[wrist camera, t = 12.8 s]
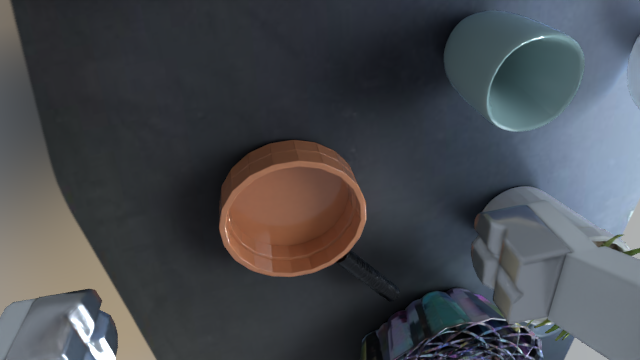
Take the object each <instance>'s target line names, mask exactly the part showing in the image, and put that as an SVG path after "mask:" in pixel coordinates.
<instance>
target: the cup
mask: <svg viewBox="0 0 640 360" xmlns="http://www.w3.org/2000/svg"><path fill="white" fill-rule="evenodd" d="M443 58H444V68H445V72H446V75H447V77H448V79H449V81H450V83H451V85H452V86H453V88H454V89H455V90H456V91H457V93H458V94H459V95H460V96H461V97H462V98H463V99H464V100H465V101H466V102H467V103H468V104H469V105H470V106H471V107H472V108H474V109H475V110H476V111H477V112H478V113H479V114H480V115H481V116H482V117H483V118H485V119H486V120H487V121H488V122H489V123H491V124H492V125H494V126H496V127H498V128H500V129H502V130H506V131H511V132H522V131H529V130H533V129H537V128H539V127H541V126H544V125H546V124H548V123H549V122H551V121H552V120H554V119H555V118H557V117H558V116H559V115H560V114H561V113H562V112H563V111H564V110H565V109H566V107H567V106H568V105H569V104H570V102H571V101H572V99H573V98H574V96H575V94H576V92H577V90H578V88H579V86H580V83H581V80H582V77H583V73H584V67H585V66H584V54H583V51H582V48H581V47H580V45H579V44H578V42H577V41H576V40H574V39H573V38H572V37H570V36H569V35H567V34H566V33H564V32H562V31H559V30H557V29H555V28H553V27H550V26H548V25H546V24H543V23H541V22H539V21H536V20H533V19H531V18H528V17H525V16H522V15H519V14H516V13H512V12H507V11H499V10H489V11H482V12H478V13H474V14H472V15H470V16H468V17H466V18H465V19H463V20H462V21H460V22H459V23H458V24H457V25H456V27H455V28H454V29H453V31H452V32H451V34H450V36H449V38H448V40H447V43H446V46H445V50H444V57H443Z"/></svg>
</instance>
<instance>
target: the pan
mask: <svg viewBox="0 0 640 360" xmlns="http://www.w3.org/2000/svg"><path fill="white" fill-rule="evenodd" d="M365 222H366V201H365V199H364V197H363V194H362V192H361V190H360V188H359V186H358V183H357V181H356V179H355V177H354V175H353V172H352V170H351V168H350V166H349V164H348V163H347V162H346V161H345V160H344V159H343V158H342V157H341V156H340V155H339V154H337V153H336V152H335V151H333V150H331V149H329V148H327V147H325V146H322V145H320V144H318V143H315V142H308V141H300V140H288V141H282V142H276V143H270V144H267V145H265V146H263V147H261V148H259V149H256V150H254V151H252V152H250V153H248V154H247V155H246V156H245V157H244V158H243V159H241V160H240V161H239V162H238V163H237V164H236V165H235V166H234V167H232V169H231V170H230V172H229V174H228V176H227V177H226V179H225V181H224V183H223V185H222V187H221V194H220V202H219V231H220V234H221V238H222V241H223V245H224V247H225V248H226V249H227V251H228V252H229V253H230V254H231V256H232V257H233V258H234V259H235V260H236V261H237V262H239V263H240V264H242V265H243V266H245V267H246V268H248V269H250V270H251V271H254V272H258V273H261V274H265V275H268V276H278V277H294V276H300V275H305V274H310V273H314V272H316V271H319V270H321V269H323V268H326V267H328V266H330V265H332V264H334V263H335V262H336V261H338V260H339V259H340V258H342V257H343V256H344V255H346V254H347V253H348V252H349V251H350V250H351V248H352V247H353V246H354V244H355V243H356V242H357V240H358V239H359V238H360V236H361V233H362V231H363V228H364V225H365Z"/></svg>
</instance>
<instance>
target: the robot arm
mask: <svg viewBox="0 0 640 360" xmlns="http://www.w3.org/2000/svg"><path fill="white" fill-rule="evenodd" d="M474 229H475V230H476V232H477V233H478V234H479V235H478V236H477V238H476V239H475V240H474V241H473V242H472V248H471V257H472V262H473V267H474V269H475V272H476V274H477V276H478V278H479V279H480V281H481V282H482V284H483V285H485V286H487V287H489V288H491V289H493V290H494V294H493V301H494V303H495V304H496V306H497V307H498V309H499V310H500V312H501V313H502V315H503V316H504V318H505V320H506V321H507V323H508V324H514V323H519V322H525V321H530V320H535V319H541V318H546V317H548V320H549V321H551V322H553V323H554V324H556V325H557V326H559V327H560V328H562V329H563V330H565V331H566V332H568V333H569V334H571V335H572V336H574V337H575V338H577V339H579V340H580V341H581V342H583V343H584V344H586V345H587V346H589V347H591V348H592V349H594V350H595V351H597V352H598V353H600V354H601V355H603V356H604V357H606V358H607V359H609V360H640V260H639V259H637V258H634V257H632V256H629V255H627V254H624V253H622V252H619V251H616V250H614V249H611V248H609V247H606V246H604V247H597V246H596V245H595V244H594V243H593V242H592V241H591V240H590V239H589V238H588V237H587V236H586V235H585V234H584V233H583V232H582V231H581V230H580V229H578V228H577V227H576V226H575V225H574V224H573V223H572V222H571V221H570V220H569V219H568V218H567V217H566V216H565V215H564V214H563V213H562V212H561V211H560V210H559V209H557V208H556V207H555V206H554V205H553V204H552V203H551V202H550V201H547V200H540V201H535V202H530V203H525V204H522V205H517V206H512V207H507V208H502V209H497V210H492V211H487V212H482V213H478V214H477V216H476V218H475V223H474ZM101 302H102V300H101V298H100V297H99V295H98V294H97V292H96V291H95V290H93V289H85V290H79V291H73V292H68V293H62V294H56V295H50V296H45V297H39V298H36V299H30V300H24V301H18V302H13V303H12V304H10V305H9V306H7V307H6V308H5V310H4V312H3V313H2V315H1V317H0V360H115V357H116V353H117V348H118V334H117V330H116V326H115V323H114V321H113V319H112V317H111V315H109V314H107V313H105V312H103V311H101V310H99V309H100V306H101Z"/></svg>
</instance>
